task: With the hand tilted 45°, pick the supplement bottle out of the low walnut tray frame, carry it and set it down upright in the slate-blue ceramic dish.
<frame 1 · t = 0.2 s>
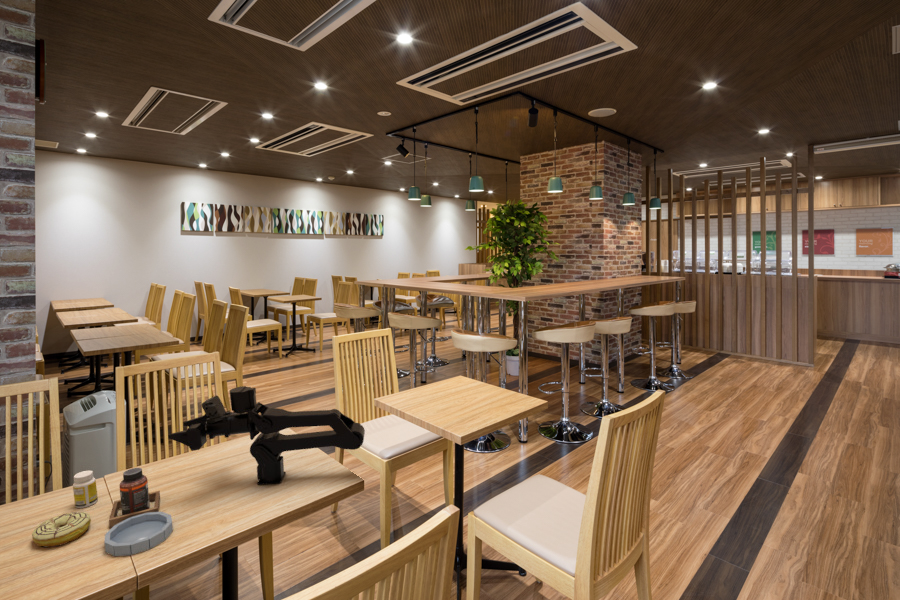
hand: (176, 429, 128), 17 cm above the table, tool horizontal, fingers open, 9 cm apart
tray: (136, 512, 116), on the table
supplement bottle 2: (86, 504, 121), on the table
decorated donut: (63, 536, 107), on the table
supplement bottle: (136, 513, 116), resting in tray
dish: (140, 537, 106), on the table
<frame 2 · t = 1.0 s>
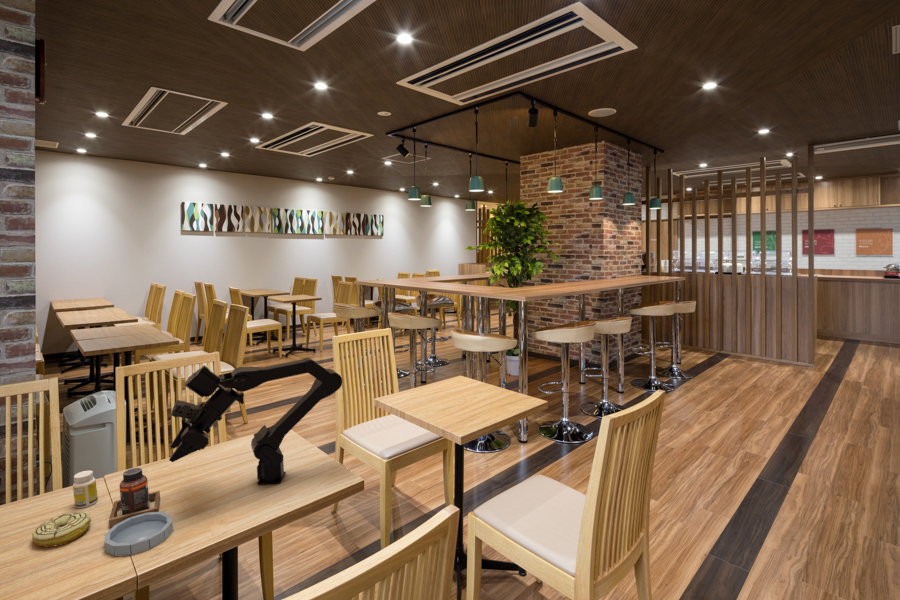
hand: (171, 454, 119), 14 cm above the table, tool tilted 45°, fingers open, 9 cm apart
nothing on the table moved.
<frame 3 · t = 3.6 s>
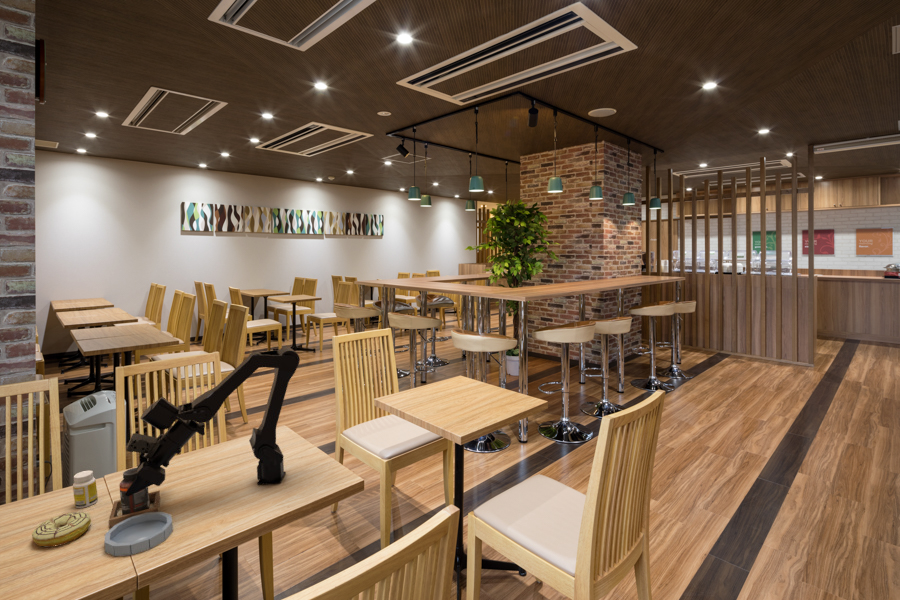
hand: (127, 489, 115), 7 cm above the table, tool tilted 45°, fingers closed on supplement bottle, 6 cm apart
supplement bottle: (136, 513, 116), resting in tray, touching gripper
everything else where it was.
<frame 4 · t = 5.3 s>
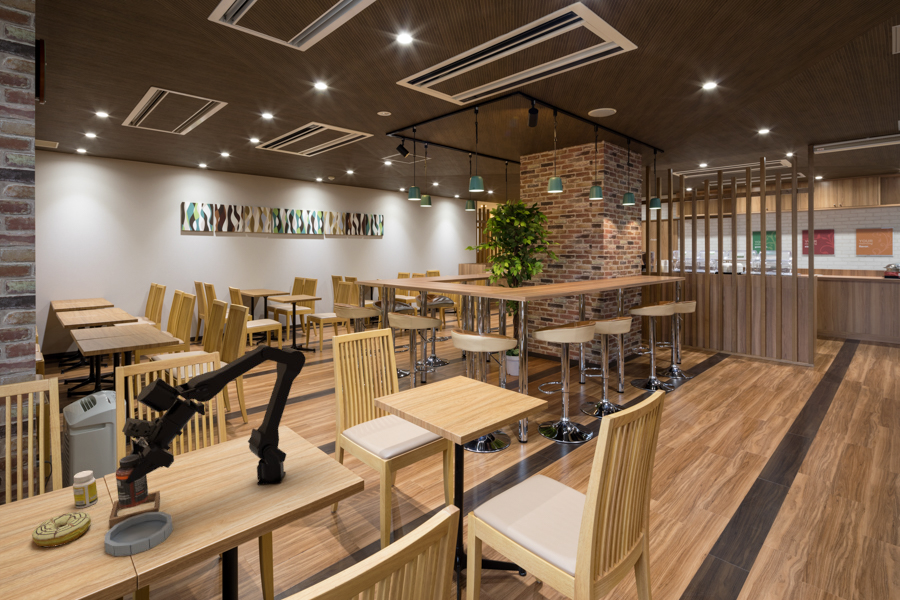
hand: (124, 478, 107), 13 cm above the table, tool tilted 45°, fingers closed on supplement bottle, 6 cm apart
supplement bottle: (134, 503, 109), point 6 cm above the table, touching gripper
everything else where it was.
when the fingers open (8 cm above the table, at t = 7.1 s): supplement bottle stays where it is, resting on dish.
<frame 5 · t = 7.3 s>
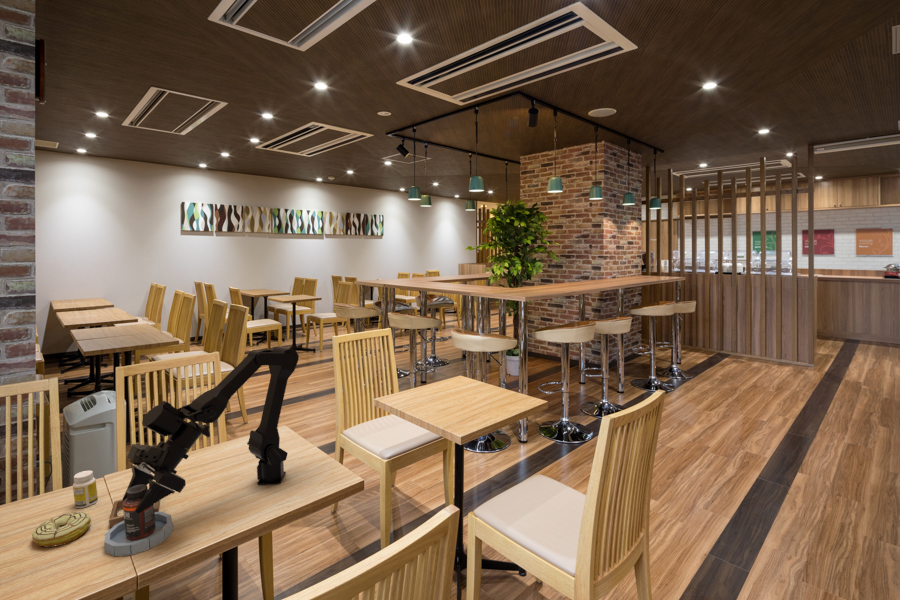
hand: (130, 506, 104), 8 cm above the table, tool tilted 45°, fingers open, 8 cm apart
supplement bottle: (141, 534, 106), point 1 cm above the table, touching dish
everything else where it was.
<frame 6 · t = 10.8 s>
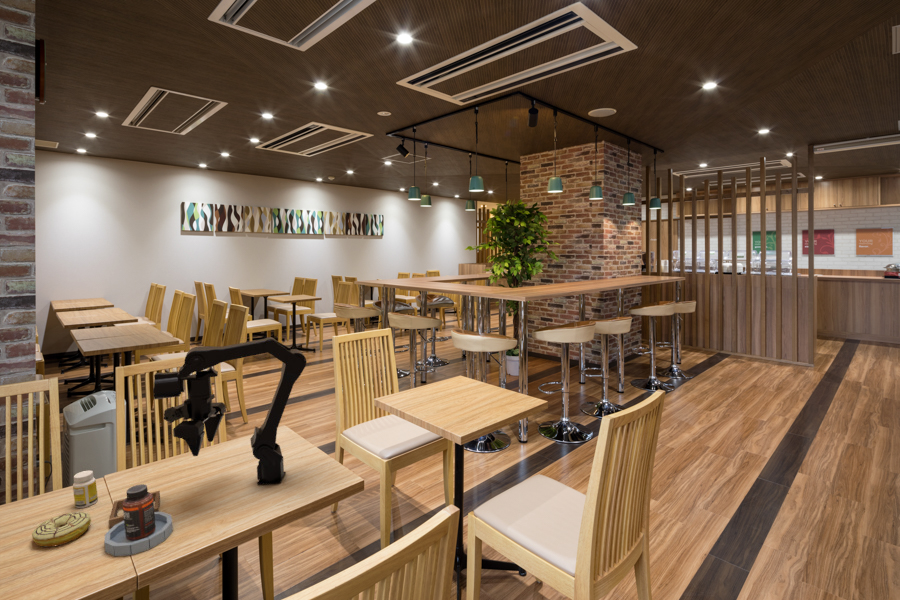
hand: (203, 448, 124), 13 cm above the table, tool pointing down, fingers open, 9 cm apart
nothing on the table moved.
at the end: supplement bottle 0.2 cm from the dish (horizontally); supplement bottle tilted 0°; supplement bottle touching dish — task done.
